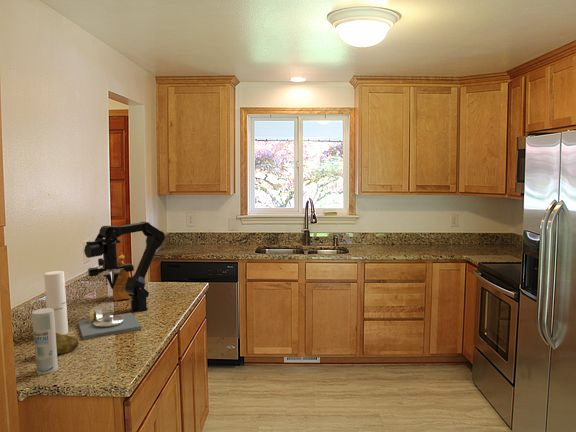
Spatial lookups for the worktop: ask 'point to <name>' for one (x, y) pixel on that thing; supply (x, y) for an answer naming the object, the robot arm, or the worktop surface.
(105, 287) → the worktop surface
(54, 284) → the cylindrical container
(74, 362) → the worktop surface
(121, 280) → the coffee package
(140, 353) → the worktop surface
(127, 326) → the base board
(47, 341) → the spray can
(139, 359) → the worktop surface
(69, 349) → the potato
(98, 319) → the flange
